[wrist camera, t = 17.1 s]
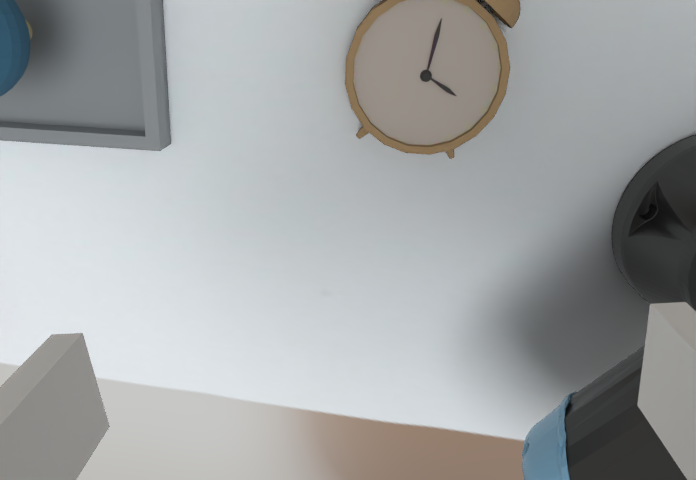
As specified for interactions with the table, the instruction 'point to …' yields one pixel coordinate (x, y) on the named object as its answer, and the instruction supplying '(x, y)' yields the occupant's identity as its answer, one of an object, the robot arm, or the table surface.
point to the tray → (91, 76)
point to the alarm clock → (429, 71)
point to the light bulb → (13, 44)
